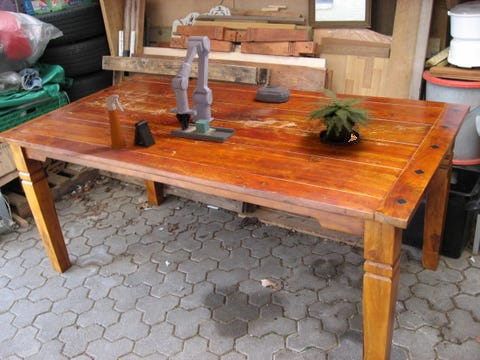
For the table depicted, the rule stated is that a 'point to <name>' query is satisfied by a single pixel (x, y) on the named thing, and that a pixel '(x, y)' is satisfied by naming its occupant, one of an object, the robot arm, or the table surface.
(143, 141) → the phone stand
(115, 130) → the spray bottle
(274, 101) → the soft grey pack
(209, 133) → the sliding plate with handle
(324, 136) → the fern plant
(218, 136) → the channel
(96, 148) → the table surface
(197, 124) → the block
